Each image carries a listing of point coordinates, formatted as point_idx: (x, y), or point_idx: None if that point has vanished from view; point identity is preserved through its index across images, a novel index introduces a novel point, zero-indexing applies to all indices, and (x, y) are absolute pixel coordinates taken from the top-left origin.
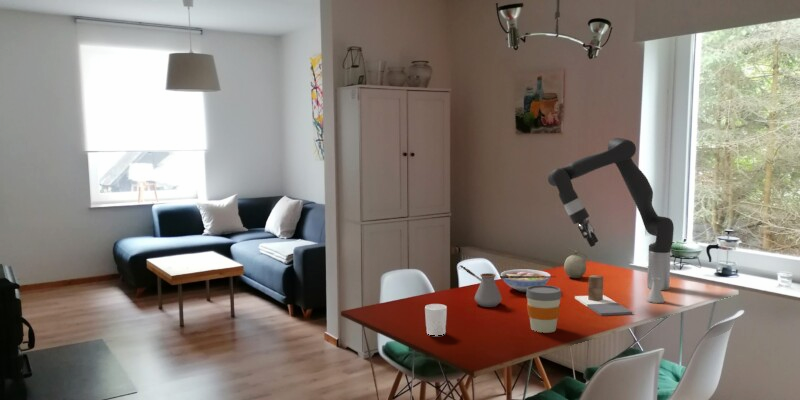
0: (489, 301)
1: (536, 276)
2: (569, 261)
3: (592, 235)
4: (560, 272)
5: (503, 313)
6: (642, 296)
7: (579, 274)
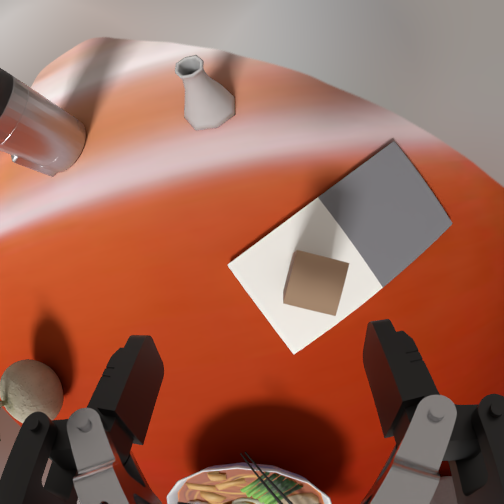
0: None
1: (277, 498)
2: None
3: (131, 420)
4: None
5: None
6: (164, 152)
7: (53, 375)
